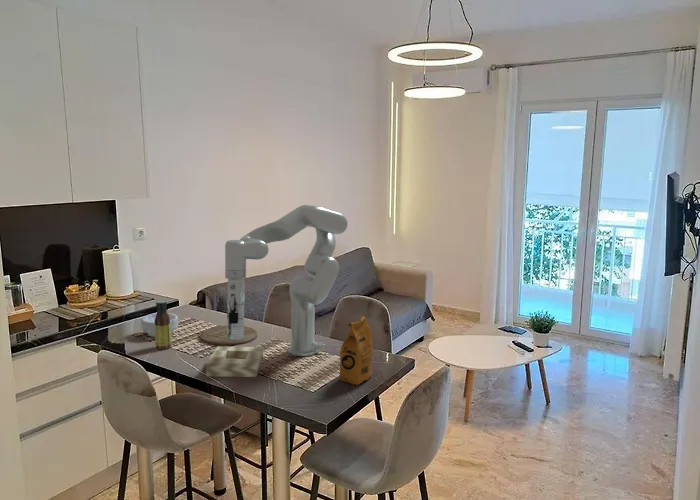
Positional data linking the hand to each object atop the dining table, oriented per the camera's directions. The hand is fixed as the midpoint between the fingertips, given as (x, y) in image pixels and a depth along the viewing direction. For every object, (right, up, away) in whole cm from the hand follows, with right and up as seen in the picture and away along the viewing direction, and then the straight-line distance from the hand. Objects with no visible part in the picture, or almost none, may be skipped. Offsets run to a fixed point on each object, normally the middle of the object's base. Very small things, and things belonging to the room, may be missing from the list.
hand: (235, 319), depth 194 cm
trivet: (-12, -13, +39) cm, 43 cm away
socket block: (0, -18, +3) cm, 19 cm away
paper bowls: (-43, -12, +40) cm, 60 cm away
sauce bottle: (-35, -15, +22) cm, 44 cm away
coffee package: (+45, -21, -5) cm, 50 cm away
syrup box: (0, -7, +1) cm, 7 cm away
